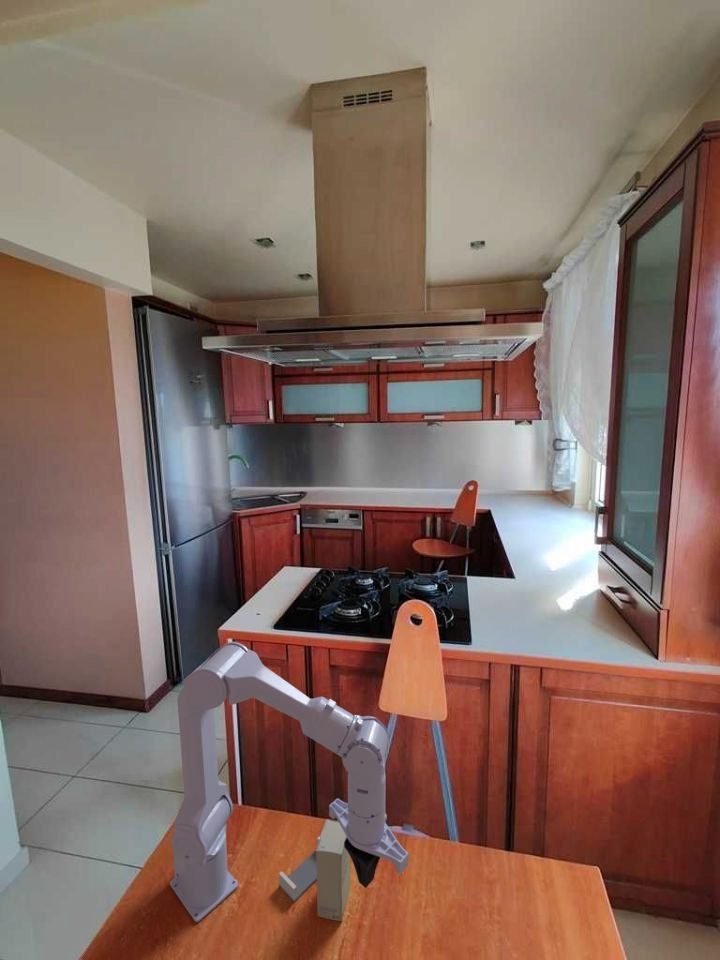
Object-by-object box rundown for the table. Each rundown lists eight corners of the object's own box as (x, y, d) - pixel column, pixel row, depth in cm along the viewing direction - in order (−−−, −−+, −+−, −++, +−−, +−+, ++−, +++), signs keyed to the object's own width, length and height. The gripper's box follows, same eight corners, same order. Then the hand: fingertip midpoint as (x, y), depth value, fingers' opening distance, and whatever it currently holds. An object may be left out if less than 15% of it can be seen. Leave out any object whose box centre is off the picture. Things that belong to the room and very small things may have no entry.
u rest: (279, 886, 79) (278, 873, 78) (319, 848, 86) (319, 836, 86) (294, 902, 76) (293, 889, 76) (334, 861, 83) (334, 849, 83)
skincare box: (342, 923, 73) (342, 856, 71) (316, 917, 74) (315, 851, 72) (350, 884, 79) (350, 822, 78) (326, 879, 80) (325, 817, 78)
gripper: (421, 812, 67) (419, 892, 69) (349, 763, 77) (350, 834, 78) (391, 845, 62) (391, 931, 64) (319, 788, 71) (320, 864, 73)
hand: (366, 880), depth 71 cm, fingers closed
